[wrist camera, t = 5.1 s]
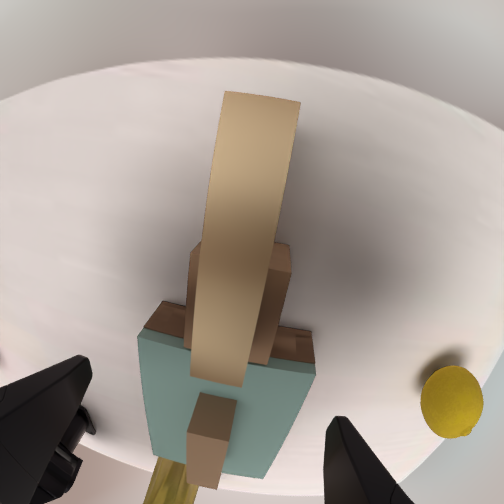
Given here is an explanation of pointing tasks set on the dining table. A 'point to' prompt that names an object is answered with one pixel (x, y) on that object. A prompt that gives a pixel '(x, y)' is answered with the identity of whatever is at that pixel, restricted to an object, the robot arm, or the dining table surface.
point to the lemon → (451, 402)
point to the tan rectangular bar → (239, 230)
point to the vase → (170, 484)
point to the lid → (218, 411)
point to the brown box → (267, 330)
